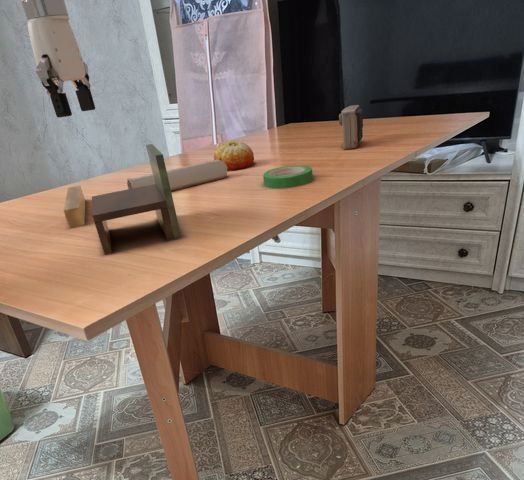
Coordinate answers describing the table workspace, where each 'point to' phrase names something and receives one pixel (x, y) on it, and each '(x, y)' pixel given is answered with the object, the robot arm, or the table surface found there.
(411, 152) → the table surface
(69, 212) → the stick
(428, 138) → the table surface
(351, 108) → the camera
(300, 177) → the tape roll
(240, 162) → the fruit
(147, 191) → the miniature wooden chair
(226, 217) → the table surface
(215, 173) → the tube
